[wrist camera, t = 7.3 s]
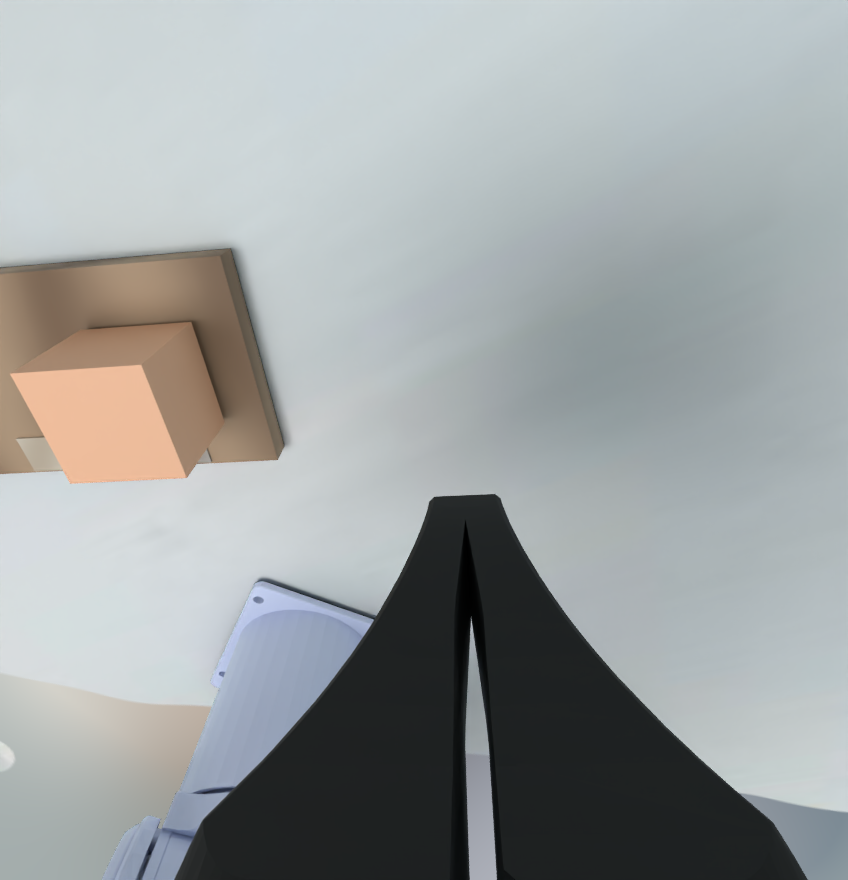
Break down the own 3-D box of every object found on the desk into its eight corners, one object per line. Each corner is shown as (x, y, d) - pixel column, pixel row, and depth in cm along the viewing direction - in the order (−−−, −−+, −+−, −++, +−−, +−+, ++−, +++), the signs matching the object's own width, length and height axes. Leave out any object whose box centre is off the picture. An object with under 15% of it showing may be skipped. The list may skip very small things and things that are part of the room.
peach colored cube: (191, 322, 18) (141, 365, 15) (225, 422, 20) (186, 477, 17) (80, 329, 18) (9, 373, 15) (124, 428, 21) (70, 483, 18)
